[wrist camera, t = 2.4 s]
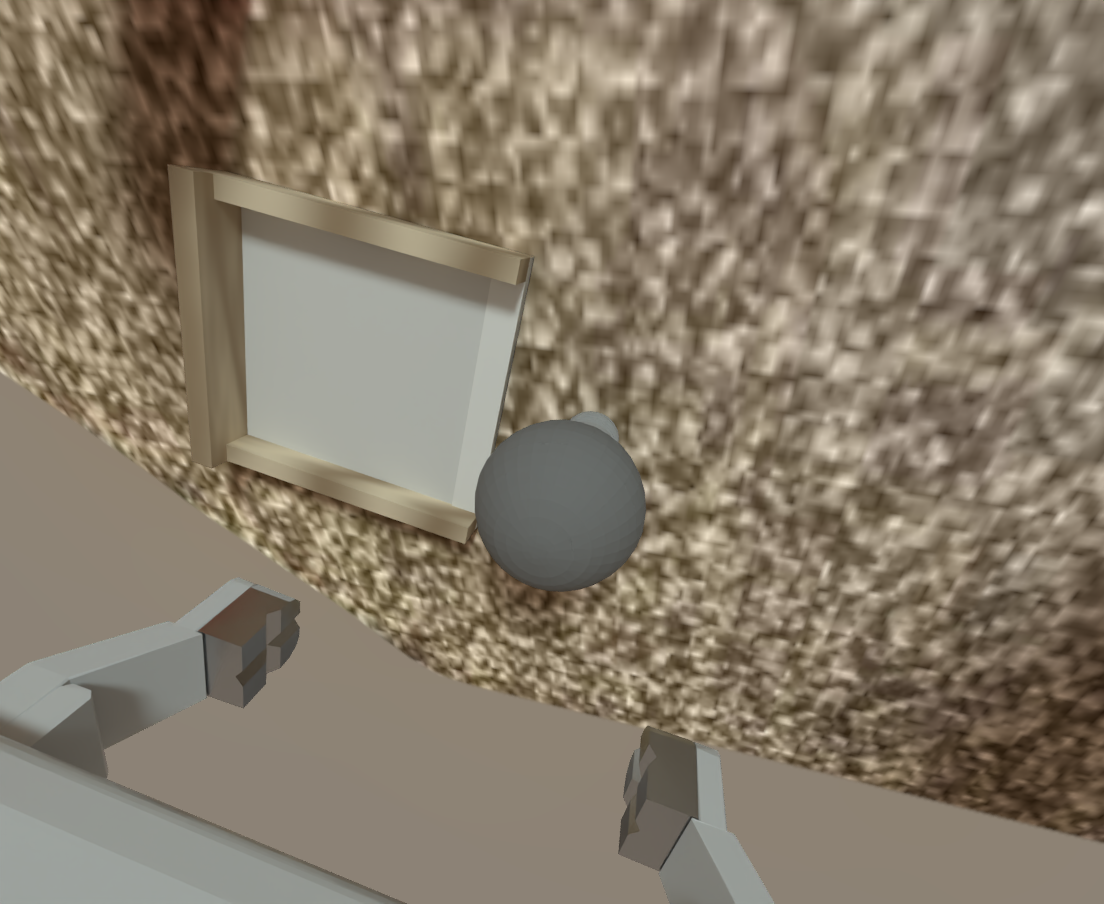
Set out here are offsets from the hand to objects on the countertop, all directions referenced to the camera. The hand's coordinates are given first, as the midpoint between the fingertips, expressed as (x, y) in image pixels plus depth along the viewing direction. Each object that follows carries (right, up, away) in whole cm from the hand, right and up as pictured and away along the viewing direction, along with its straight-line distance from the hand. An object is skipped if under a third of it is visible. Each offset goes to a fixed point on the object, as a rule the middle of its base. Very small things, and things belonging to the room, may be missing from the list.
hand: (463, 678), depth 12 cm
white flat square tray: (-7, +9, +14) cm, 19 cm away
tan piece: (-7, +9, +14) cm, 19 cm away
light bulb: (+4, +6, +13) cm, 15 cm away
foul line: (-1, +7, +14) cm, 16 cm away
